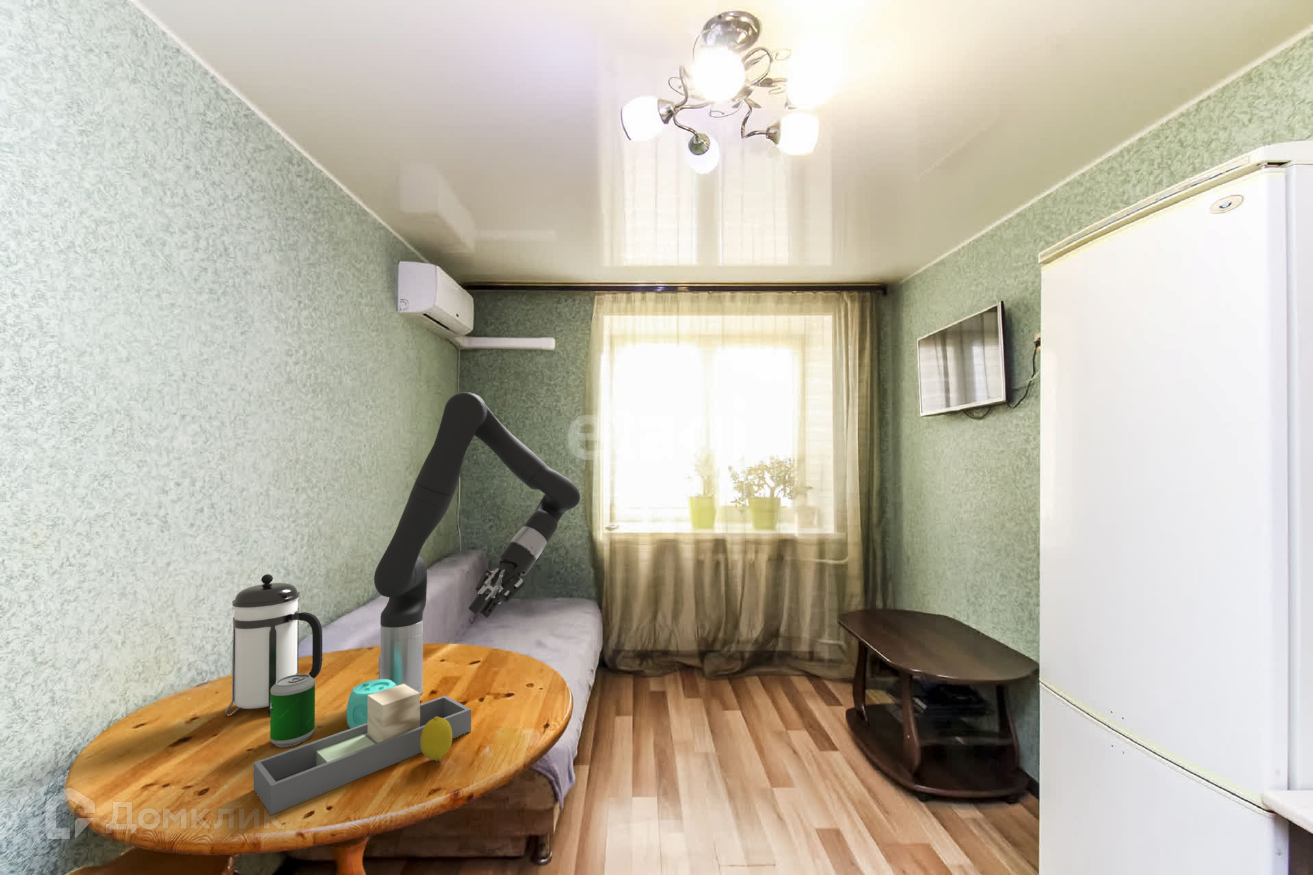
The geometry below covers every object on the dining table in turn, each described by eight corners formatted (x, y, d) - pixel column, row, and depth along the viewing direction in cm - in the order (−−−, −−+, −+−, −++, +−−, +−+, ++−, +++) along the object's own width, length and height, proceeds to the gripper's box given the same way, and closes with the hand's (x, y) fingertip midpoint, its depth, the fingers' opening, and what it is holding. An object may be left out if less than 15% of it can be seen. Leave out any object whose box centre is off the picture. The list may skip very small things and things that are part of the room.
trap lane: (445, 716, 120) (445, 695, 120) (471, 731, 113) (470, 709, 113) (253, 789, 94) (253, 762, 95) (271, 814, 87) (271, 785, 88)
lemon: (433, 772, 99) (432, 726, 99) (414, 763, 102) (413, 719, 102) (458, 757, 103) (458, 714, 104) (439, 749, 106) (439, 707, 107)
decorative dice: (359, 717, 120) (359, 680, 121) (398, 713, 122) (398, 677, 122) (345, 735, 113) (346, 695, 113) (388, 731, 114) (388, 691, 115)
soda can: (323, 733, 114) (323, 674, 114) (288, 752, 107) (289, 688, 107) (296, 728, 116) (297, 670, 117) (260, 746, 109) (261, 684, 109)
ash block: (403, 721, 112) (403, 683, 112) (419, 732, 107) (419, 692, 108) (367, 734, 107) (367, 695, 107) (382, 746, 102) (382, 705, 102)
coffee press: (228, 729, 116) (229, 585, 117) (222, 704, 128) (224, 574, 129) (322, 704, 128) (323, 573, 129) (309, 683, 140) (310, 564, 141)
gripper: (496, 538, 134) (449, 598, 124) (532, 543, 124) (483, 609, 115) (515, 557, 137) (471, 617, 128) (551, 563, 128) (506, 629, 118)
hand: (477, 613), depth 121 cm, fingers open, 4 cm apart
